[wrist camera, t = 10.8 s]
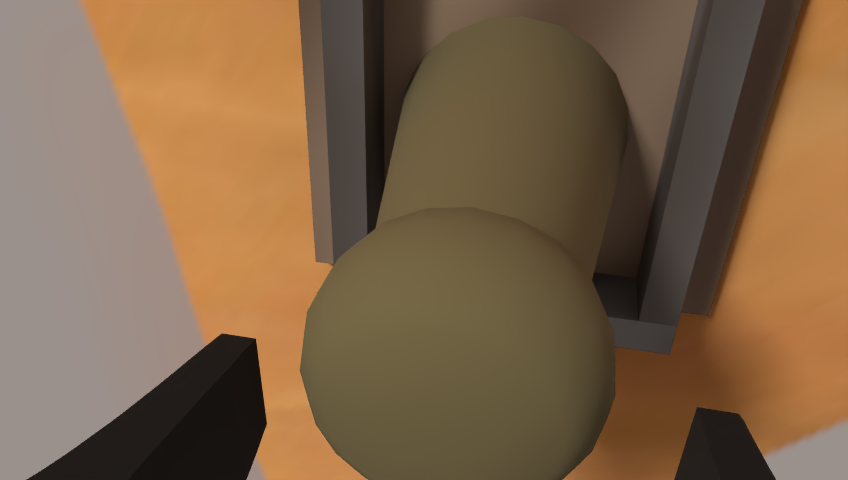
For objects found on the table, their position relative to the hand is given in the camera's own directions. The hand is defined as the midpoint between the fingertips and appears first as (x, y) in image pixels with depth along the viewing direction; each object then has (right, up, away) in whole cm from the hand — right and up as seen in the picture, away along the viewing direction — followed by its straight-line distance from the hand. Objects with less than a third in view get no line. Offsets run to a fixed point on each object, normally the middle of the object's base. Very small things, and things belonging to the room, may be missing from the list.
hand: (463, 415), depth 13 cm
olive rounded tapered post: (+2, +6, +8) cm, 10 cm away
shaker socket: (+2, +7, +7) cm, 11 cm away
